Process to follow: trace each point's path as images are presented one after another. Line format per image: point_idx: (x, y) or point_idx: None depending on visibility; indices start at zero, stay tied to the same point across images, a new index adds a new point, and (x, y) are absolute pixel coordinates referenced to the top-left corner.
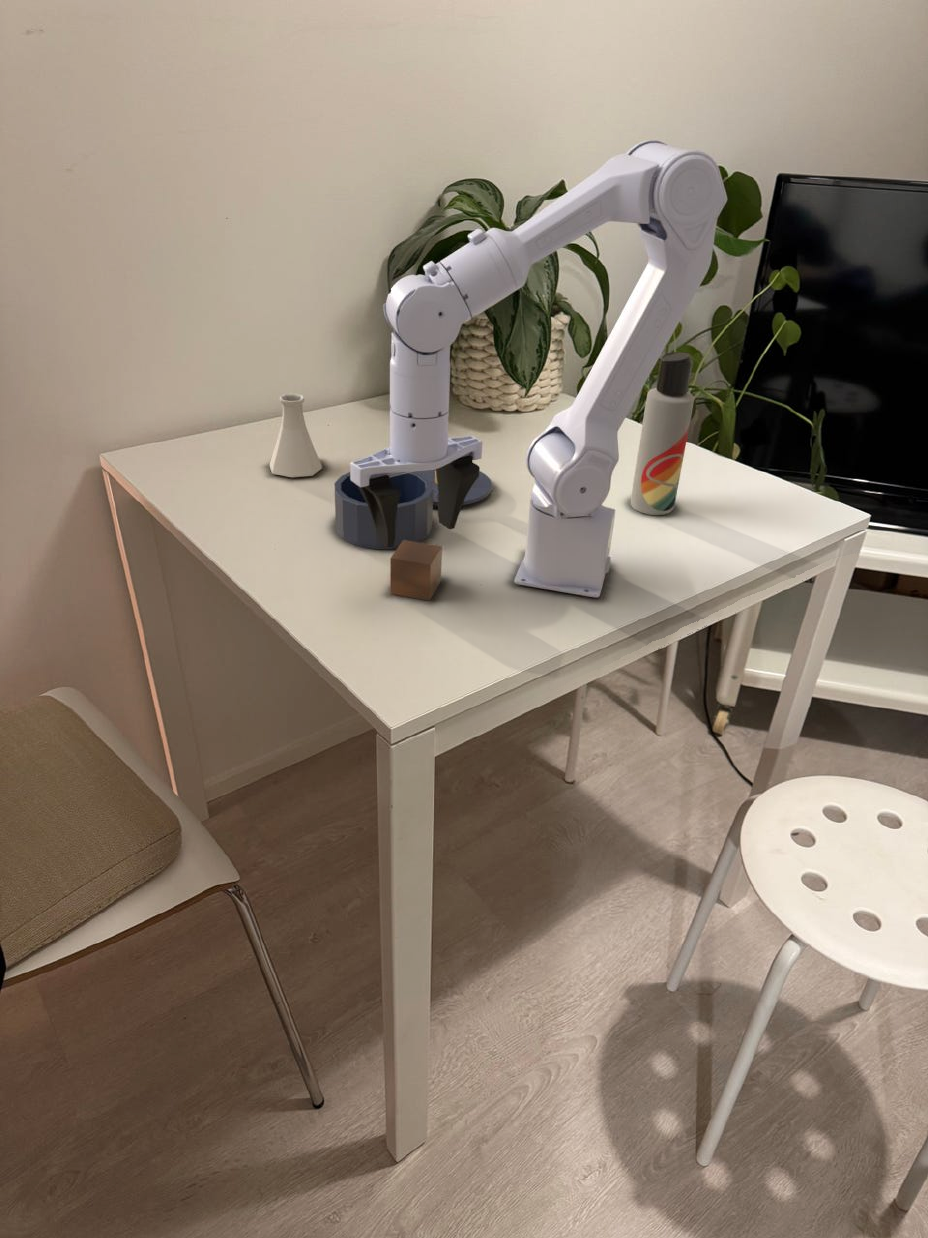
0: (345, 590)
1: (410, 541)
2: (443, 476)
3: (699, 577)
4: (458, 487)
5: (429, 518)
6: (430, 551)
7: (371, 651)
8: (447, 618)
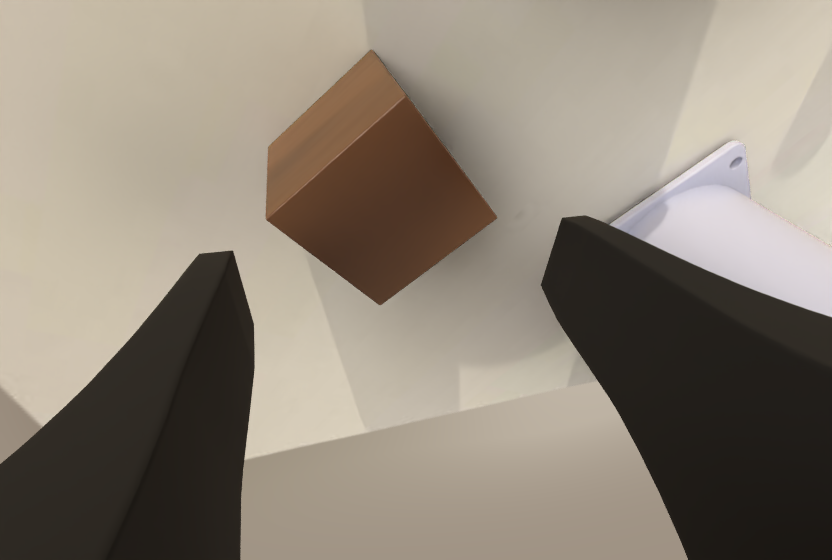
0: (92, 30)
1: (422, 129)
2: (767, 436)
3: None
4: (671, 505)
5: None
6: (436, 235)
7: (118, 350)
8: (355, 301)
